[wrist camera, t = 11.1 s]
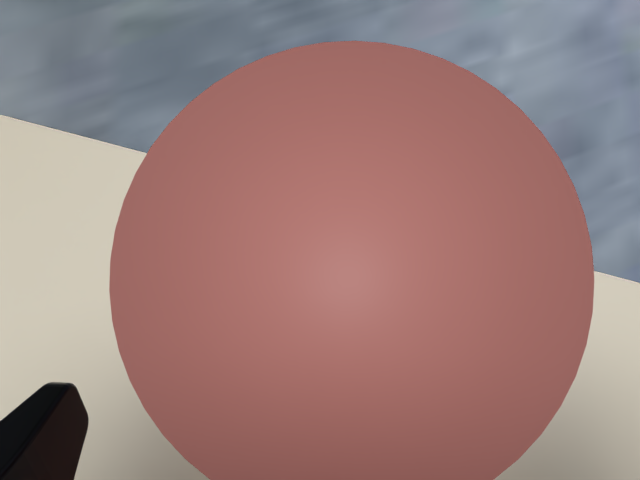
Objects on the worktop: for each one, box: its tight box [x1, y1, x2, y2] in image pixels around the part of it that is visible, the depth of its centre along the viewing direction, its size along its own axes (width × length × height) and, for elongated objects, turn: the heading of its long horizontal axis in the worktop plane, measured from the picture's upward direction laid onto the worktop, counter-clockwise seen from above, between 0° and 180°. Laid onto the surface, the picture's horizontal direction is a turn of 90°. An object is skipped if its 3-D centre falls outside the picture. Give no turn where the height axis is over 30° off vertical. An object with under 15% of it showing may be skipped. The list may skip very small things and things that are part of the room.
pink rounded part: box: [109, 41, 594, 480], centre depth 10 cm, size 9×3×14 cm, turn 162°
